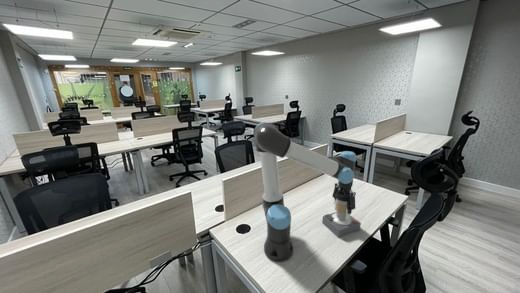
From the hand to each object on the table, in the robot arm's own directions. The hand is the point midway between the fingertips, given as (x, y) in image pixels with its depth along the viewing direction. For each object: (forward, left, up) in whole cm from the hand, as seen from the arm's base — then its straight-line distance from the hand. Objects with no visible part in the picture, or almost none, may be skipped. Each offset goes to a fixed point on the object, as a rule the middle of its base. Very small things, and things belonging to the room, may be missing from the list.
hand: (341, 213), depth 121 cm
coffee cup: (0, 0, -2) cm, 2 cm away
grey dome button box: (0, 0, -9) cm, 9 cm away
